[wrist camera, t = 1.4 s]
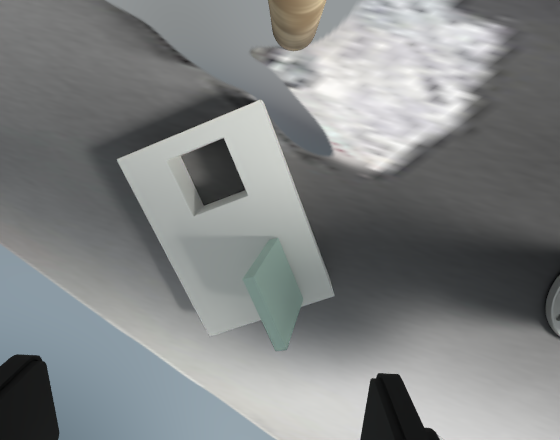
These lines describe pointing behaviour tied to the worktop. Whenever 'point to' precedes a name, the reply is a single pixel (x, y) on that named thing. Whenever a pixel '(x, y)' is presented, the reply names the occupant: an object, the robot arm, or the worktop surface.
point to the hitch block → (227, 217)
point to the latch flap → (274, 293)
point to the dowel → (295, 21)
